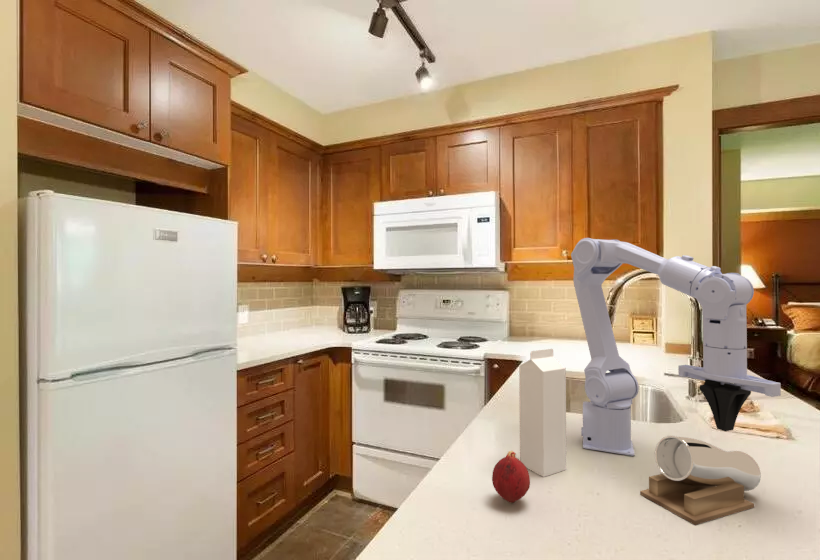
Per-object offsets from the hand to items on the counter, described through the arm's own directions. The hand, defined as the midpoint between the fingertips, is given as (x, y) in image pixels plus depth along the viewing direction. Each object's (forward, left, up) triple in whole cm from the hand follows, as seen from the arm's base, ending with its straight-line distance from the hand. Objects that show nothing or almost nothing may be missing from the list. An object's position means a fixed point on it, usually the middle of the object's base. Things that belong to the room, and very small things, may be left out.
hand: (725, 429), depth 68 cm
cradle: (-5, -5, -10) cm, 13 cm away
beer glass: (+3, +2, -7) cm, 8 cm away
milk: (-28, -2, -11) cm, 31 cm away
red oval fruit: (-32, -18, -11) cm, 38 cm away
